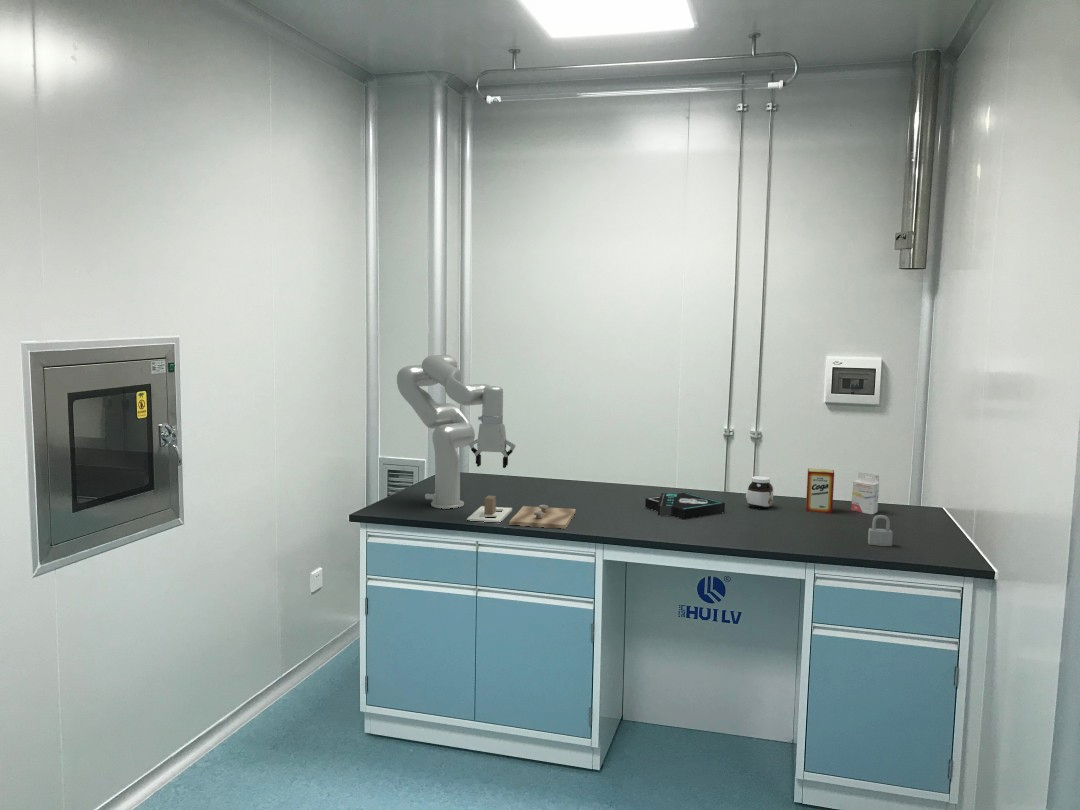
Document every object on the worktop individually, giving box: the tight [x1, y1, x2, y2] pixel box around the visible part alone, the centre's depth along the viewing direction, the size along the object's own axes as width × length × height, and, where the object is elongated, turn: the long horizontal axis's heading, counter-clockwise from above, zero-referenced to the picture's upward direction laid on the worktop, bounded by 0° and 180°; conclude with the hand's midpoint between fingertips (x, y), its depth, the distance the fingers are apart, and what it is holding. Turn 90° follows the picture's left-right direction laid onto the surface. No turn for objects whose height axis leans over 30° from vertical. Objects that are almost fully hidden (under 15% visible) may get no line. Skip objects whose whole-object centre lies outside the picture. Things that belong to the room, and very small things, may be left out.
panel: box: [466, 495, 513, 523], centre depth 304 cm, size 12×20×7 cm, turn 169°
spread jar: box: [745, 475, 774, 510], centre depth 326 cm, size 12×11×12 cm
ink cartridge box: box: [850, 471, 880, 515], centre depth 318 cm, size 9×5×15 cm, turn 47°
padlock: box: [867, 514, 894, 547], centre depth 272 cm, size 7×4×10 cm, turn 75°
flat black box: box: [644, 492, 726, 520], centre depth 318 cm, size 30×4×30 cm
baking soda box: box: [805, 467, 835, 514], centre depth 319 cm, size 10×6×16 cm
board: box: [508, 504, 577, 530], centre depth 301 cm, size 20×24×4 cm
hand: (491, 466), depth 303 cm, fingers open, 9 cm apart
